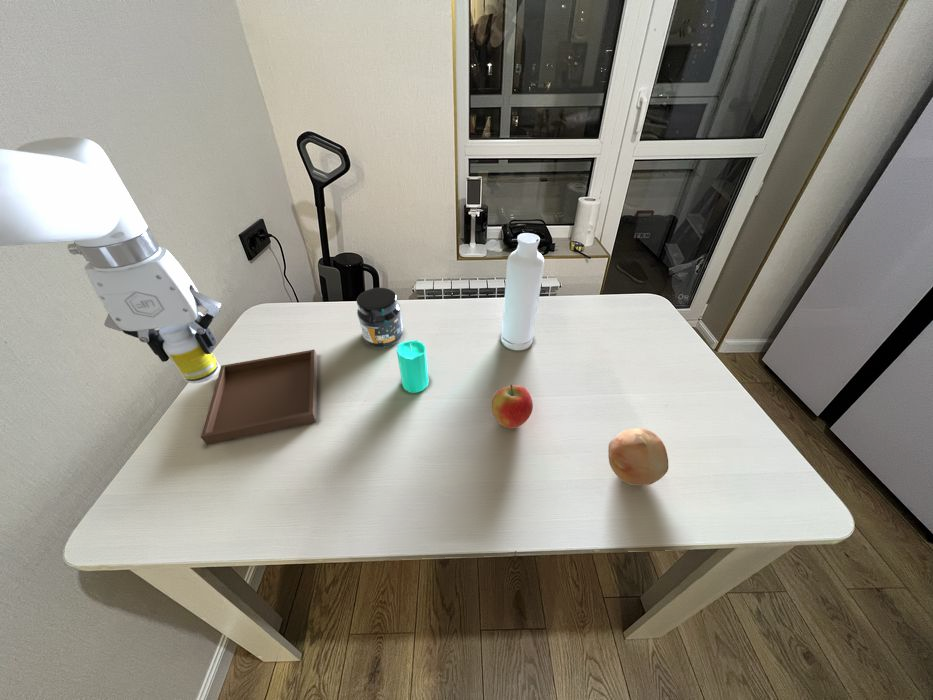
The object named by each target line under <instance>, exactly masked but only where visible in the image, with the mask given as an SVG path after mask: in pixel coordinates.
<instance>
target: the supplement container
mask: <svg viewBox="0 0 933 700" xmlns="http://www.w3.org/2000/svg"><path fill="white" fill-rule="evenodd" d="M397 296H398V295H397V294H396V293H395V291H393V290H392V289H390V288H388V287H387V288H386V287H373V288H368V289H366V290H364V291H363V292H361V293H360V294H359V295H358V296H357V298H356V305H357V310H356V311H357V312H356V315H357V317H358V320H359V324H360V329H361V333H362V339H363V340H364V342H365V343H366V344H367V345H370V346H371V347H375V348H387V347H390V346H393V345H395V344H397V343H398V342H399V341H401V339H402V338H403V336H404V327H403V321H402V314H401V310H402V309H401V305H400V304H399V302H398V297H397Z"/></svg>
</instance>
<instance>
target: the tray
mask: <svg viewBox="0 0 933 700" xmlns="http://www.w3.org/2000/svg"><path fill="white" fill-rule="evenodd" d="M316 352H317V351H316V350H315V349H314V348H313V349H310V350H309V349H308V350H304V351H297V352H292V353H286V354H280V355H274V356H268V357H263V358H258V359H252V360H245V361H240V362H233V363H229V364H222V365H220V369H219V371H218V376H217V379H216V382H215V386H214V389H213V393H212V396H211V399H210V403H209V407H208V410H207V413H206V417H205V419H204V423H203V427H202V431H201V434H200V439H201V440H202V441H203V442H204V444H205V445H206V446H209V445H214V444H219V443H222V442H228V441H231V440H232V441H233V440H237V439H242V438H247V437H251V436H256V435H262V434H266V433H269V432H275V431H280V430H285V429H289V428H294V427H298V426H304V425H308V424H313V423H316V422H317V403H318V402H317V401H318V400H317V399H318V390H317V389H318V356H317V353H316Z"/></svg>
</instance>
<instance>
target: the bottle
mask: <svg viewBox="0 0 933 700" xmlns="http://www.w3.org/2000/svg"><path fill="white" fill-rule="evenodd" d="M540 240H541V238H540V236H539V235H538V234H535V233H530V232H523V233H520V234H518V235H517V237H516V241H517V243H518V244H517V246H516V249H515V250H514V251H512V252H511V253H509V255H508V257H507V260H506V261H507V262H506V273H505V284H504V285H505V287H504V299H503V311H502V324H501V336H500V341H501V343H502V344H503V346H504V347H506V348H507V349H510V350H511V351H512V350H513V351H523V350H527V349H528V348H530V347H532V344H533V341H534V340H533V339H534V334H535V329H536V328H535V327H536V320H537V313H538V308H539V307H538V306H539V300H540V294H541V287H542V281H543V274H544V268H545V258H544V256H543V255H542V254H541V252H539V249H538V248H539V247H538V246H539V244H540Z"/></svg>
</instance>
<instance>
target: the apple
mask: <svg viewBox="0 0 933 700" xmlns="http://www.w3.org/2000/svg"><path fill="white" fill-rule="evenodd" d="M490 407H491V412H492V415H493V417H494V419H495V420H496V422H497V423H498V424H499V425H501V426H502V427H504V428H506V429H515V428H519V427H520V426H522V425H524V424H525V423H526V422H527V421H528V420H529V418H530V417H531V415H532V413H533V409H534V403H533V398H532V396H531V394H530V392H529V391H528V389H526V387H524V386H522V385H518V384H517V385H515V384H514V385H512V384H509V385H508V386H504V387H502V388H500V389H498V390H497V391H495V393H494V395H492V399H491V405H490Z"/></svg>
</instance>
